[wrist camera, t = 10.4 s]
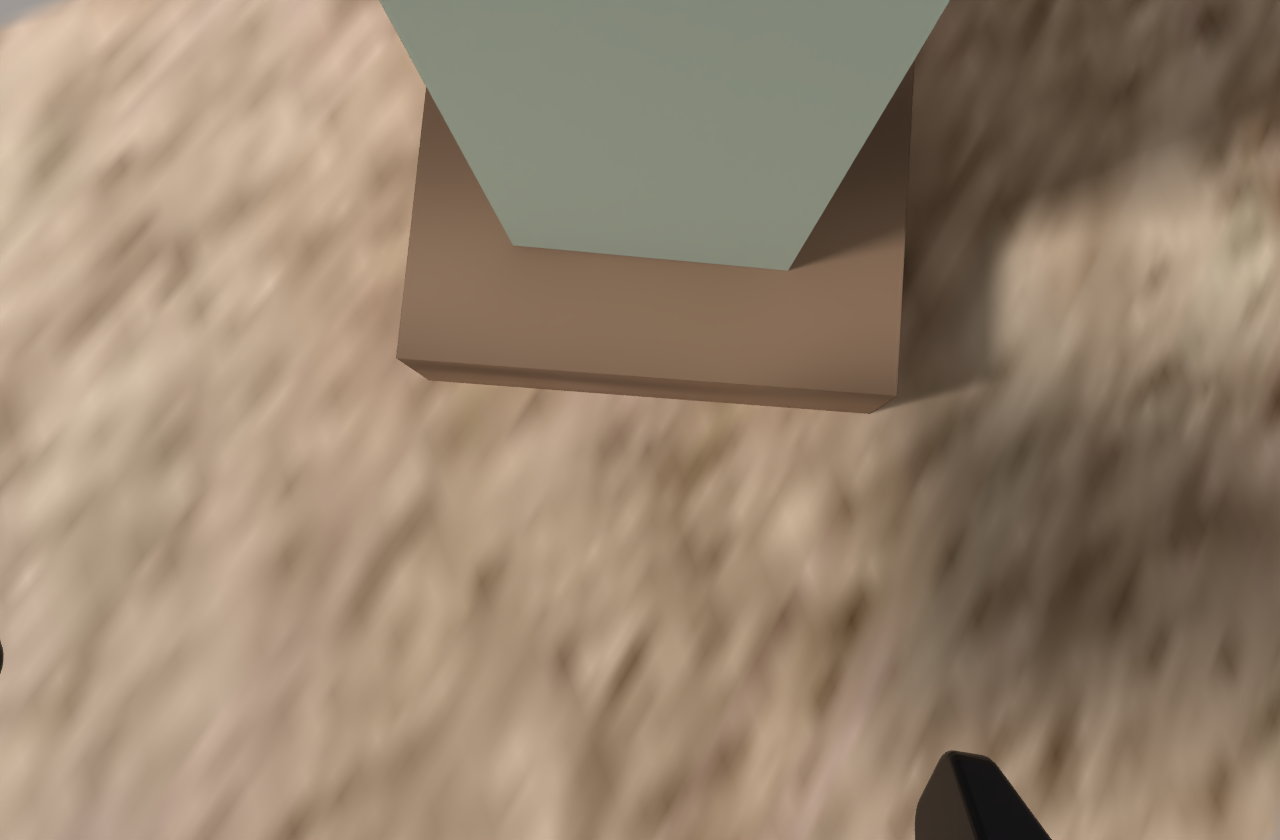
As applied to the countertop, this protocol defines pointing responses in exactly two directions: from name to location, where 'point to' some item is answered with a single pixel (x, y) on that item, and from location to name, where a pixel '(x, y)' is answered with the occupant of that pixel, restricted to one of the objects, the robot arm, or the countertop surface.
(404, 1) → the sage pillar block
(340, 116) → the countertop surface
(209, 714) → the countertop surface
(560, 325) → the walnut base block
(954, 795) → the robot arm
